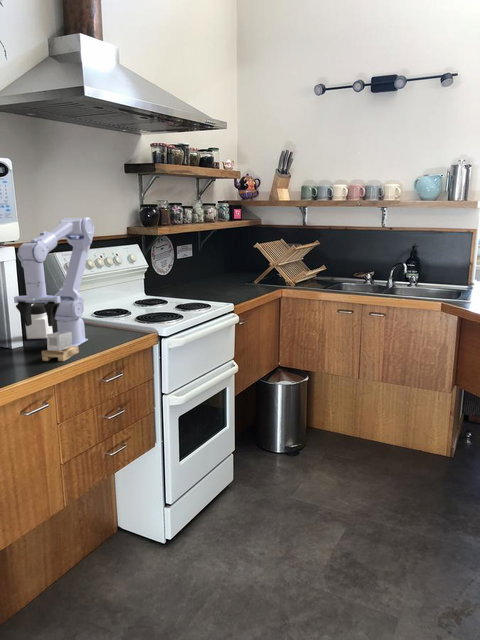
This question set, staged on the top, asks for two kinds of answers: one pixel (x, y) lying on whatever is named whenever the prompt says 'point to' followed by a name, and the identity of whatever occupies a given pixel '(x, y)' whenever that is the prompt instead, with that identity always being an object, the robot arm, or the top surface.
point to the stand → (60, 354)
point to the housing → (59, 340)
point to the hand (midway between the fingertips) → (40, 325)
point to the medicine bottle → (38, 323)
